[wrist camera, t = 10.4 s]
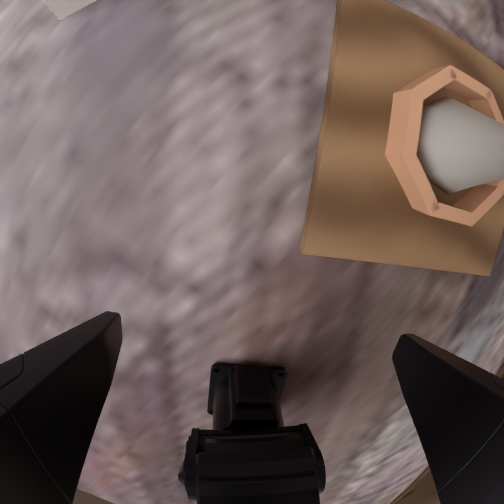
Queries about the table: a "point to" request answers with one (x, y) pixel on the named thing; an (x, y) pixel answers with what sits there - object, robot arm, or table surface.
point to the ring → (407, 136)
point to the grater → (66, 6)
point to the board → (375, 140)
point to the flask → (459, 146)
